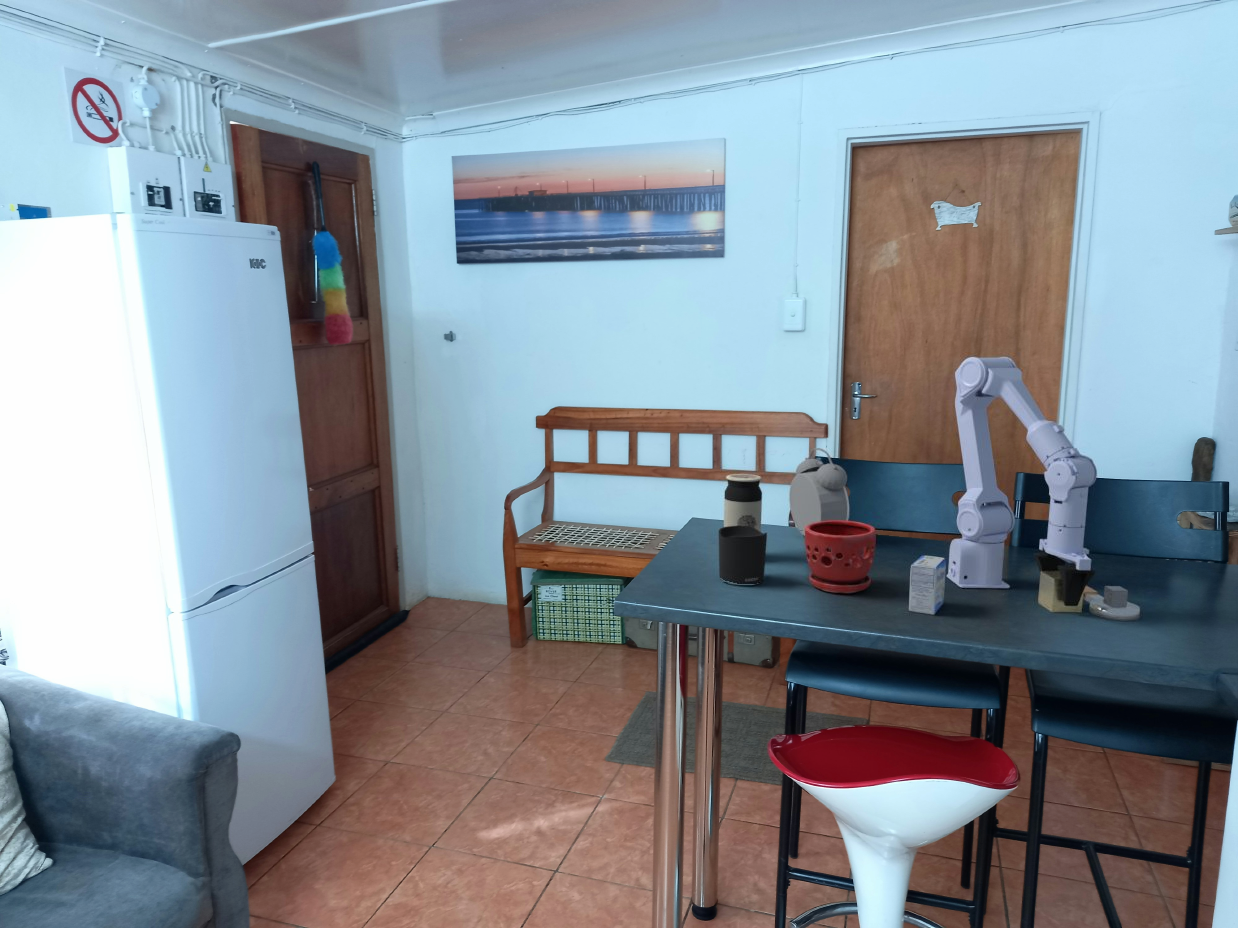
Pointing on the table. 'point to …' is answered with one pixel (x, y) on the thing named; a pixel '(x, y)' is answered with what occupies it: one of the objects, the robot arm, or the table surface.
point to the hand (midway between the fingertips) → (1060, 598)
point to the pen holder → (742, 554)
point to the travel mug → (743, 501)
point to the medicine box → (927, 584)
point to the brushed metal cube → (1054, 593)
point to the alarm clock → (818, 493)
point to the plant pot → (840, 555)
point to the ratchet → (1111, 604)
